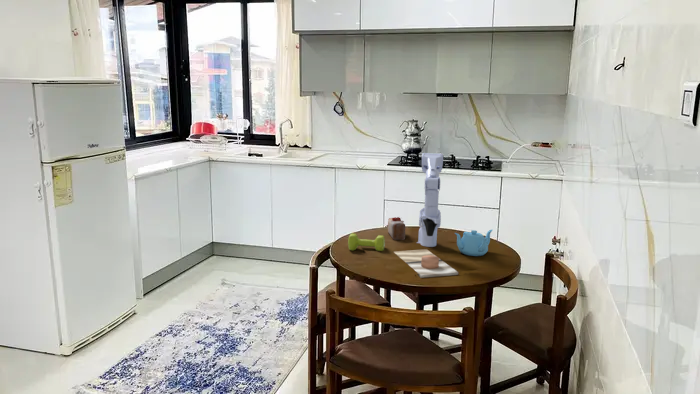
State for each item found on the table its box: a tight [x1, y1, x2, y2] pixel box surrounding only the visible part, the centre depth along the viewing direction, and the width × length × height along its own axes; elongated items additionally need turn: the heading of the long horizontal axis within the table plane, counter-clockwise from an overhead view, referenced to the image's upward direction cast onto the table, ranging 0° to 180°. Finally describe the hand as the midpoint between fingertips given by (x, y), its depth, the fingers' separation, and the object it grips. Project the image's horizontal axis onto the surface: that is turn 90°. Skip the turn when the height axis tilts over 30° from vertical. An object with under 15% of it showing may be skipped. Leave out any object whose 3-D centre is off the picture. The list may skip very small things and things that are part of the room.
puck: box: [421, 255, 440, 269], centre depth 211 cm, size 7×7×4 cm
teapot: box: [454, 229, 493, 257], centre depth 232 cm, size 15×15×10 cm
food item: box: [387, 216, 406, 241], centre depth 257 cm, size 14×8×10 cm, turn 8°
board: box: [393, 248, 459, 279], centre depth 217 cm, size 31×16×1 cm, turn 15°
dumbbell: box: [347, 232, 386, 252], centre depth 234 cm, size 16×8×7 cm, turn 79°
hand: (429, 235), depth 225 cm, fingers closed
